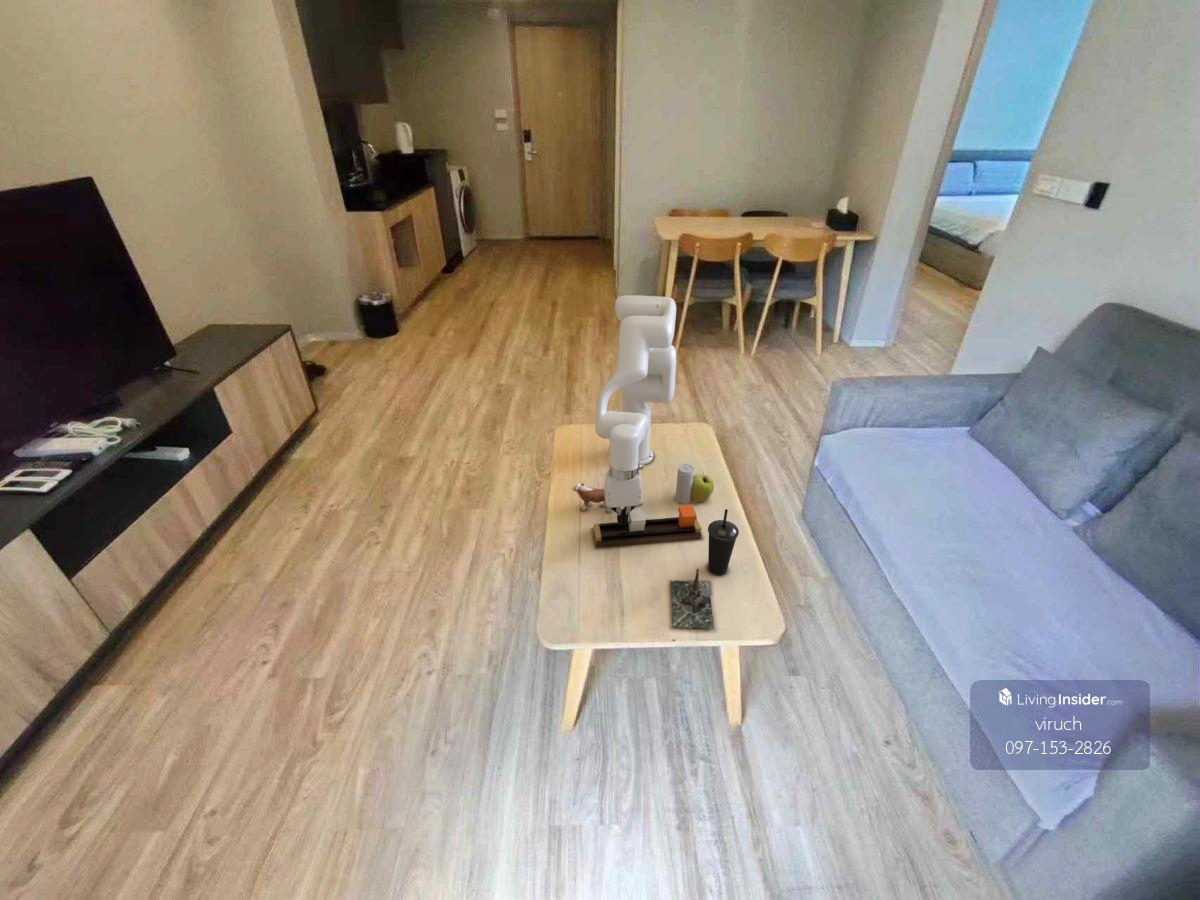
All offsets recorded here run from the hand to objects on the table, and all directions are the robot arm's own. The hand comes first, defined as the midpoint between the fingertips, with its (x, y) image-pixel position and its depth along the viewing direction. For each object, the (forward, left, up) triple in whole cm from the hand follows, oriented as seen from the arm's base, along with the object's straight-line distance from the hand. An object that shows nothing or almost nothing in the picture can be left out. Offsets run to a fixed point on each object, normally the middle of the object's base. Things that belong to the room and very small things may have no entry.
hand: (622, 523), depth 151 cm
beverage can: (-14, +22, -5) cm, 26 cm away
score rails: (0, +7, -3) cm, 8 cm away
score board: (0, +7, -5) cm, 9 cm away
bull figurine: (-14, -7, -5) cm, 16 cm away
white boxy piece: (0, +4, -3) cm, 5 cm away
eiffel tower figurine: (+27, +13, -5) cm, 30 cm away
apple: (-14, +27, -5) cm, 31 cm away
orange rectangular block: (0, +19, -3) cm, 19 cm away
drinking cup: (+16, +23, -5) cm, 28 cm away
